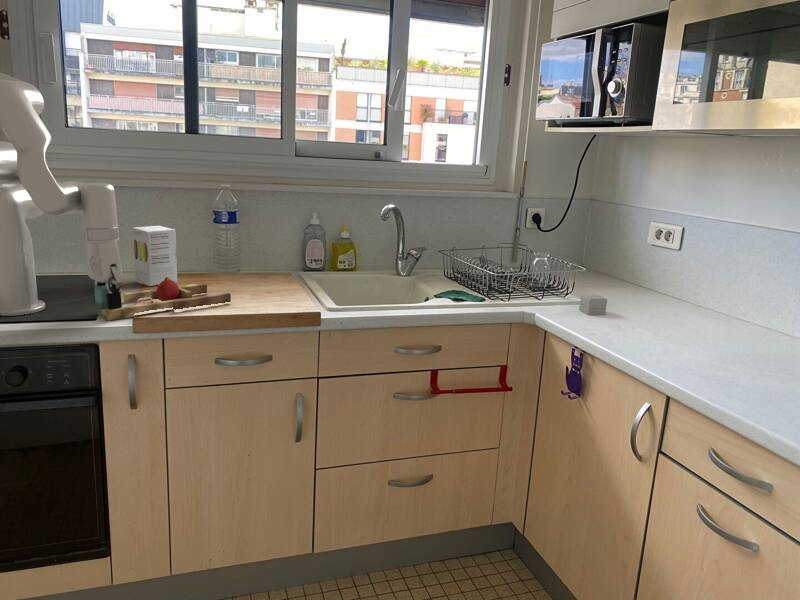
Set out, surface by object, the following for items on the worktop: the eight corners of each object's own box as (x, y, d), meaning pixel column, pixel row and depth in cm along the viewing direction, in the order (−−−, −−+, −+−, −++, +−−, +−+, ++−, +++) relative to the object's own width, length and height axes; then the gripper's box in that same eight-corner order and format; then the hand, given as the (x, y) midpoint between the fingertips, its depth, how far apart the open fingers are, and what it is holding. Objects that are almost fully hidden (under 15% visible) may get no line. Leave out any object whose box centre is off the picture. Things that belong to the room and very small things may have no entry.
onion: (156, 303, 177) (154, 275, 175) (178, 301, 179) (176, 273, 177) (159, 309, 172) (156, 279, 169) (181, 307, 174) (179, 277, 172)
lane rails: (175, 313, 168) (175, 302, 168) (151, 301, 178) (151, 291, 177) (230, 304, 179) (230, 293, 179) (205, 293, 189) (204, 283, 188)
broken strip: (126, 303, 175) (125, 294, 175) (124, 302, 176) (123, 293, 176) (198, 292, 190) (198, 284, 189) (195, 291, 191) (195, 283, 190)
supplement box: (134, 281, 199) (131, 227, 195) (161, 277, 206) (159, 224, 202) (150, 287, 194) (147, 231, 189) (178, 283, 200) (176, 228, 196)
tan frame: (108, 320, 159) (106, 292, 157) (93, 311, 165) (91, 285, 164) (193, 306, 174) (192, 281, 173) (176, 299, 181) (175, 274, 179)
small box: (605, 315, 187) (608, 298, 186) (587, 315, 186) (589, 298, 184) (596, 310, 192) (598, 293, 191) (578, 310, 191) (580, 294, 190)
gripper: (72, 232, 162) (80, 302, 166) (100, 240, 150) (108, 315, 155) (103, 229, 167) (110, 297, 172) (132, 237, 155) (139, 309, 160)
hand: (109, 305), depth 163 cm, fingers closed on tan frame, 6 cm apart
